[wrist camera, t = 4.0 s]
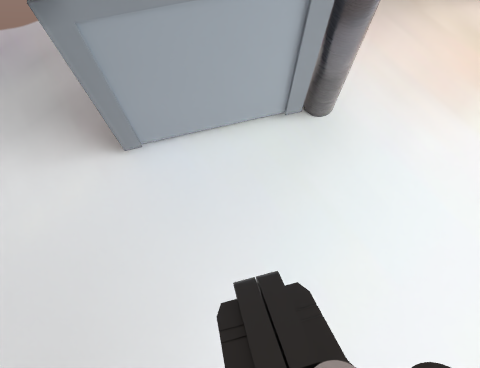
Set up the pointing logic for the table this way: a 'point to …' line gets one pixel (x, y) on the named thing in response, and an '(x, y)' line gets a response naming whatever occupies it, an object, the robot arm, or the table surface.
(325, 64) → the hinge post
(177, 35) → the gate
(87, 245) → the table surface
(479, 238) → the table surface
